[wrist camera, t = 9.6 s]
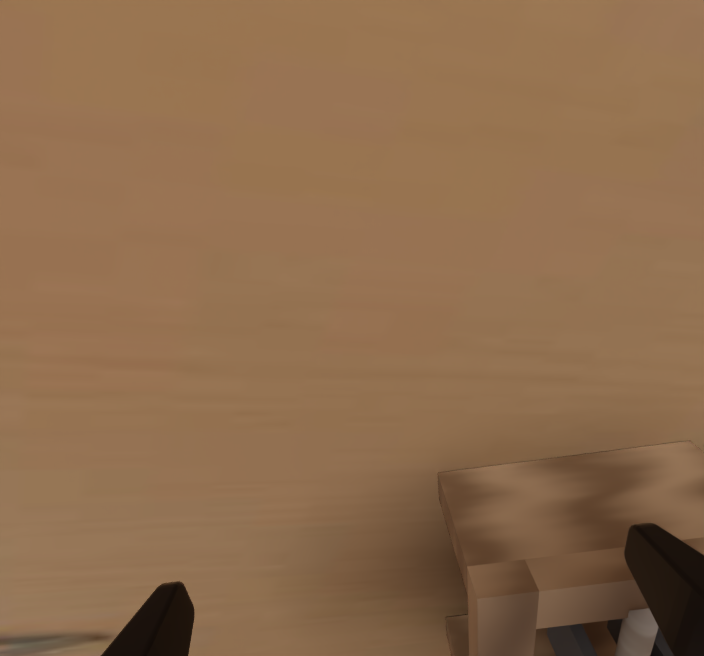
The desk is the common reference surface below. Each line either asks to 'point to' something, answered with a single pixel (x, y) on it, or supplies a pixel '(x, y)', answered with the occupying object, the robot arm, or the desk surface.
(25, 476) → the desk surface
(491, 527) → the shelf
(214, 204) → the desk surface
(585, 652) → the grey slotted box
